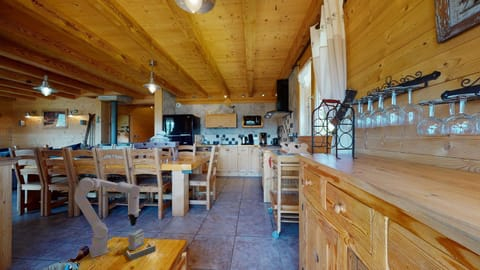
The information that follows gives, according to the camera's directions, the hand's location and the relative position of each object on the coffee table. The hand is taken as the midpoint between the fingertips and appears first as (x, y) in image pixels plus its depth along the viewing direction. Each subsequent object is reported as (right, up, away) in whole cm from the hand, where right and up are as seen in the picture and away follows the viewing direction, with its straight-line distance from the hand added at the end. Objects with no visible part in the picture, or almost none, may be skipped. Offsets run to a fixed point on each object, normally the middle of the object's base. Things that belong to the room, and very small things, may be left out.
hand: (133, 225), depth 119 cm
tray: (+12, -10, -12) cm, 20 cm away
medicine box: (+5, -10, -6) cm, 13 cm away
